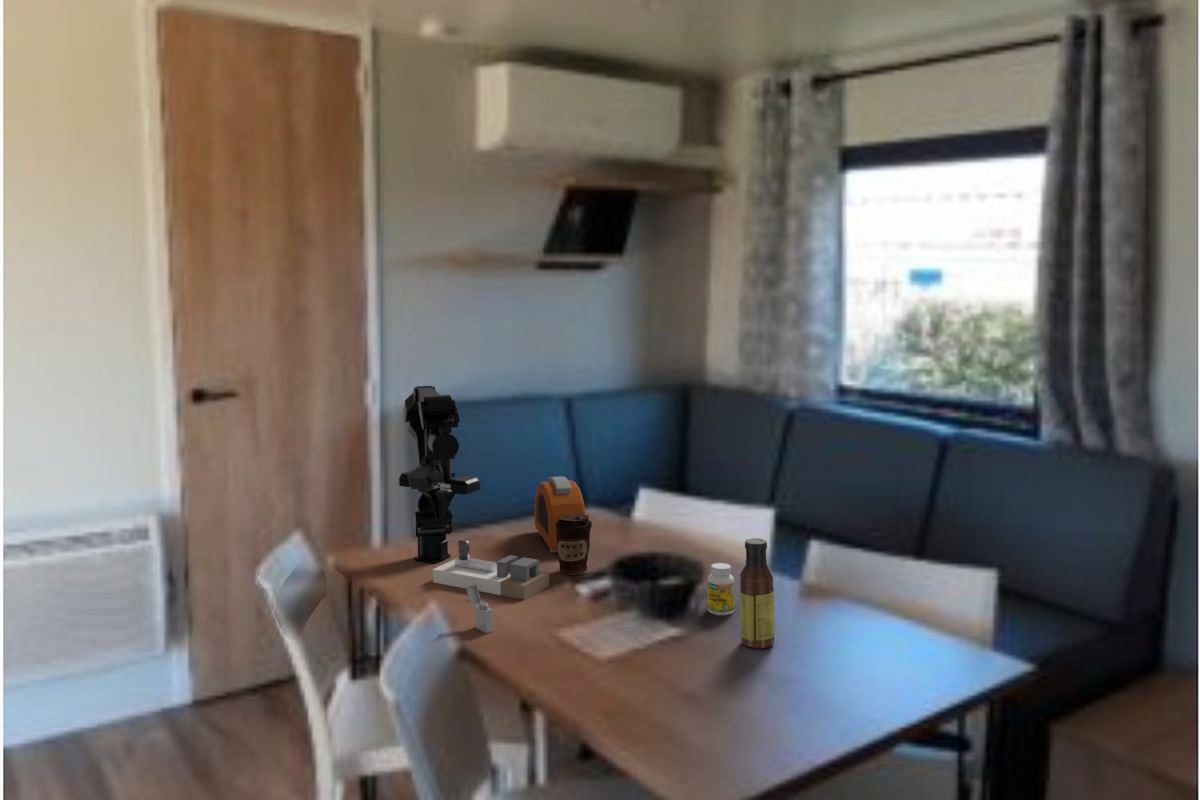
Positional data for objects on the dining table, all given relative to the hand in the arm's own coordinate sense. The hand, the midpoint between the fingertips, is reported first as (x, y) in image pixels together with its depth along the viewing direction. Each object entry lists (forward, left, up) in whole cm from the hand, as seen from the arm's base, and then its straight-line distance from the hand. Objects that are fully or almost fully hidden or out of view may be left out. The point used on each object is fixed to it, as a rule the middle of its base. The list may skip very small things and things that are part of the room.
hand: (439, 519), depth 226 cm
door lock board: (+13, 0, -13) cm, 19 cm away
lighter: (+26, -22, -13) cm, 37 cm away
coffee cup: (+25, +16, -13) cm, 33 cm away
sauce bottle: (+77, -5, -13) cm, 78 cm away
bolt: (+9, 0, -10) cm, 14 cm away
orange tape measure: (+10, +35, -13) cm, 39 cm away
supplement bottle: (+64, +8, -13) cm, 66 cm away
